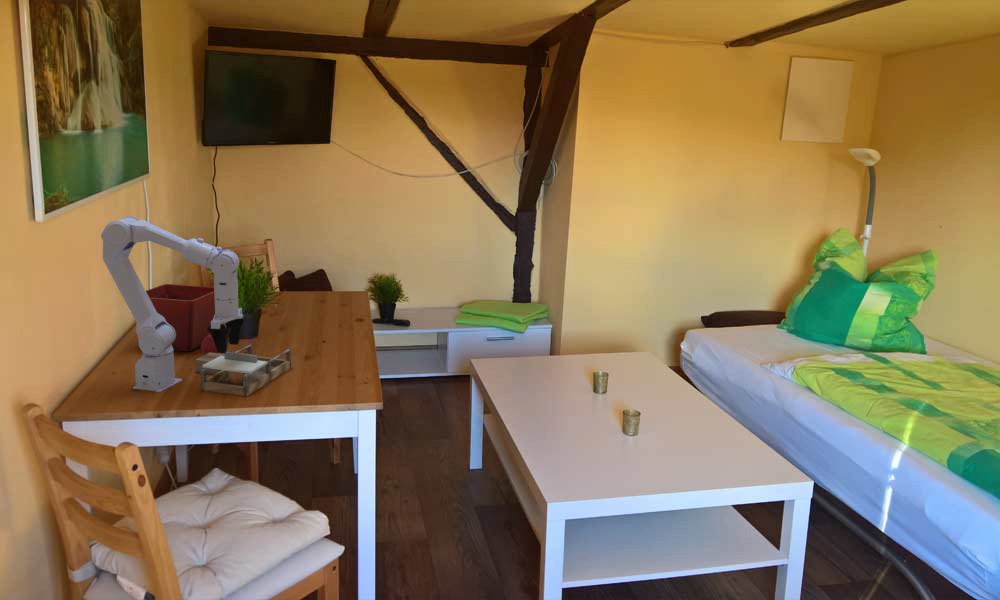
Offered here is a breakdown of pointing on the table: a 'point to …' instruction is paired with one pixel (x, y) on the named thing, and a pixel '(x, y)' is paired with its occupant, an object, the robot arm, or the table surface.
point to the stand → (206, 359)
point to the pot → (235, 378)
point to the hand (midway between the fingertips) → (228, 348)
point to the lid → (236, 362)
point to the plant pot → (185, 312)
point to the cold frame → (247, 376)
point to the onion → (208, 345)
